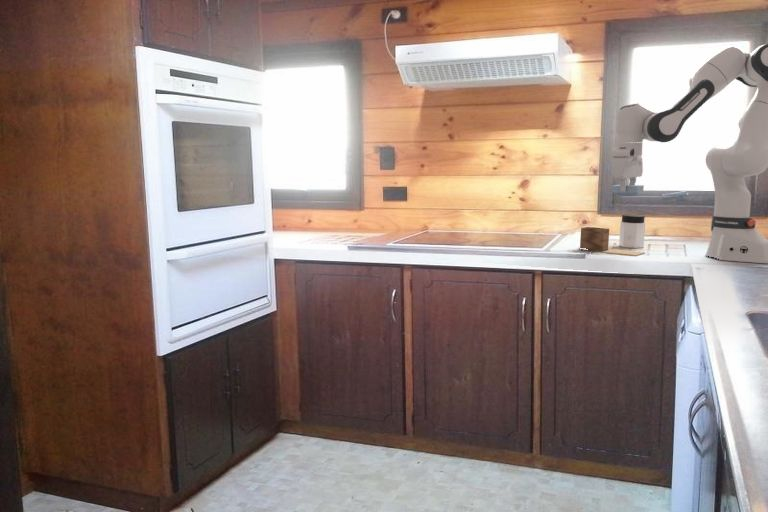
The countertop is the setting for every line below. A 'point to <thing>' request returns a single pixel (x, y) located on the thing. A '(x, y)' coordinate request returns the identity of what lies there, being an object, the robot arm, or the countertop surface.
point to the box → (594, 239)
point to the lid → (628, 190)
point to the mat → (623, 252)
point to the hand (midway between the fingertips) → (627, 190)
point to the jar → (632, 231)
